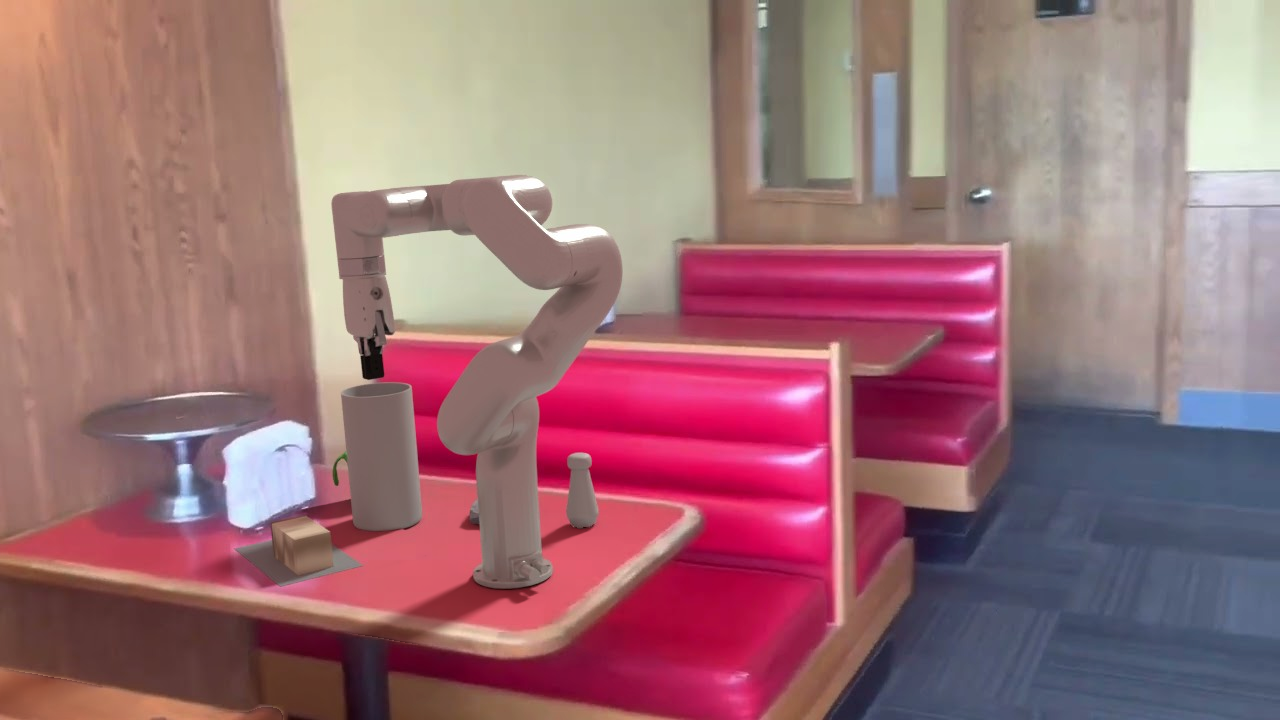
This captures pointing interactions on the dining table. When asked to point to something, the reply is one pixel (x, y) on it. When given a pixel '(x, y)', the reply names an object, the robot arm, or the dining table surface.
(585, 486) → the salt shaker
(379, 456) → the cylinder vase
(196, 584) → the dining table surface
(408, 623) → the dining table surface
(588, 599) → the dining table surface
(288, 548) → the birch block
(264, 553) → the slate mat
